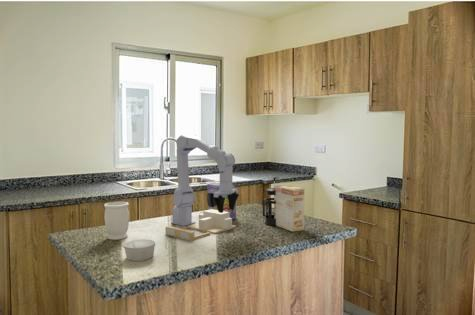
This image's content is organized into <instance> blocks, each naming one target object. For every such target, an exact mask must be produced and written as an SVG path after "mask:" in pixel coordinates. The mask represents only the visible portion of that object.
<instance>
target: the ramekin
mask: <svg viewBox="0 0 475 315" xmlns="http://www.w3.org/2000/svg"><path fill="white" fill-rule="evenodd" d="M155 246H156V242H155V241H154V240H152V239H147V238H145V239H143V238H142V239H141V238H140V239H135V240H129V241H127V242H125V243H124V244H123V249H124V253H125V256H126V258H127V260H129V261H132V262H143V261H147V260H150V259H152V257H153V256H154V254H155Z"/></svg>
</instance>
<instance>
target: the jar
mask: <svg viewBox="0 0 475 315" xmlns="http://www.w3.org/2000/svg"><path fill="white" fill-rule="evenodd" d="M129 205H130V204H129V202H128V201H111V202H106V203H104V206H103V207H104V208H105V209H104V216H103V217H104V224H105V229H106V232H107V234H108V235H107V239H108V240H113V241H114V240H115V241H118V240H123V239H126V238H127V237H128V233H127V232H128V231H129V225H130V224H129V223H130V211H129Z"/></svg>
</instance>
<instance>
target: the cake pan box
mask: <svg viewBox="0 0 475 315" xmlns="http://www.w3.org/2000/svg"><path fill="white" fill-rule="evenodd" d="M206 187H207V188H206V189H207V195H206V202H207V205H208V206H207V208H208V210H210V209H214V210H218V208H217V205H216V202H215V201H214V199H213V196H214V192H217V191H220V182H219V183H218V182H210V183H207V186H206ZM232 189H236V186H235V185H233V184H232ZM222 197H223V198H225V201H224V207H223V211H225V212H230V218H232V220H237V205H236V204H237V202H236V203H235V207H234V210H231V209H229V200H228V196H227V195H224V196H222Z"/></svg>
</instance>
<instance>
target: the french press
mask: <svg viewBox="0 0 475 315" xmlns="http://www.w3.org/2000/svg"><path fill="white" fill-rule="evenodd" d="M270 179H273V187H271V188H266V189H265V191H266V192H265V193H266V195H268V196H274V195H276V191H275V190H274V186H276V181H277V179H279V177H277V176H271V177H270ZM274 204H276V201H274V197H267V198H266V197H265V198H262V216H263V217H265V222H264V224H265V225H267V226H275V227H277V226H276V219H274V214H275V213H276V212H274V208H273V207H272V206H273V205H274Z"/></svg>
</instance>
